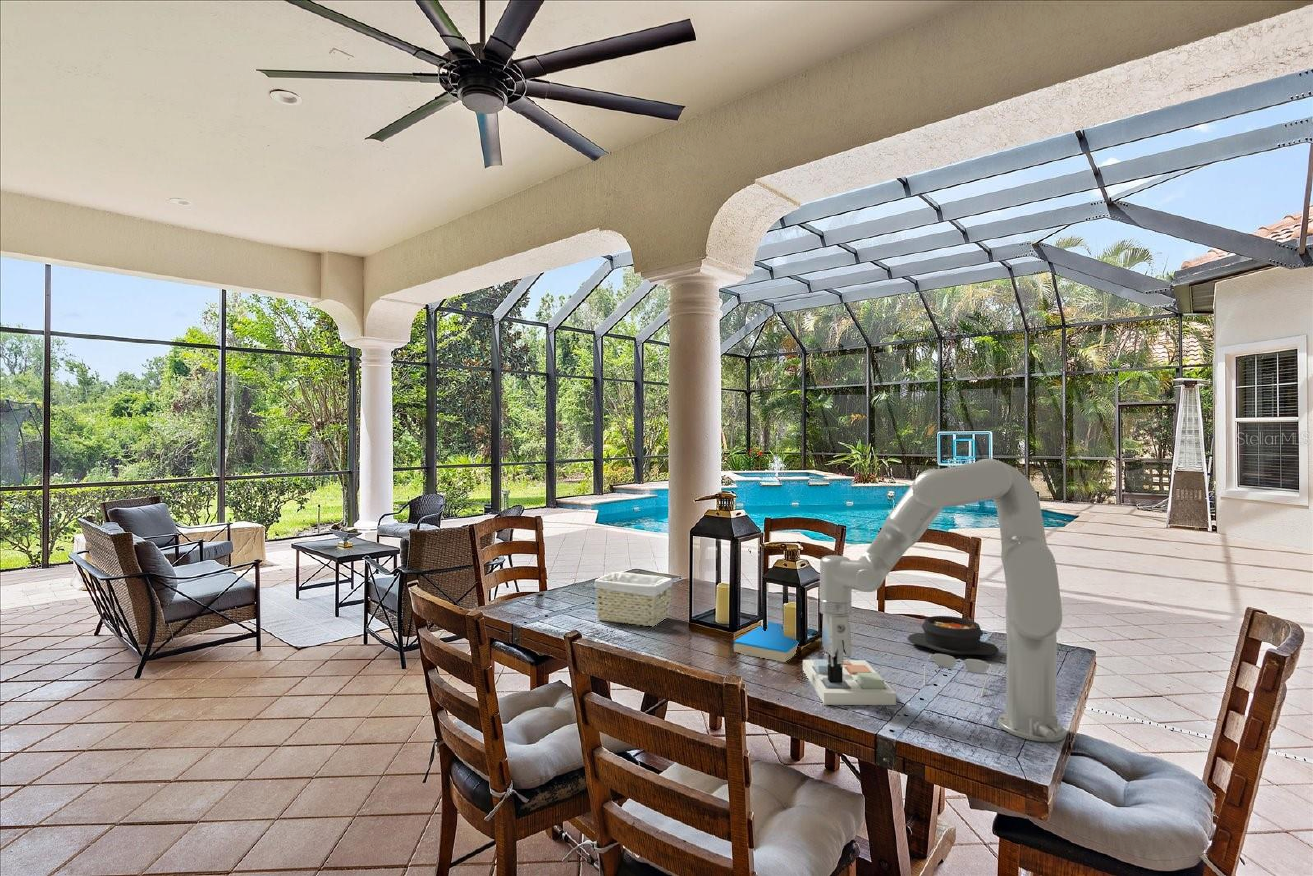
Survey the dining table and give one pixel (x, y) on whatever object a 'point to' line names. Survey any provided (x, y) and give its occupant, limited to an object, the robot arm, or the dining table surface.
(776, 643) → the book
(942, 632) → the casserole
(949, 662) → the eyeglasses
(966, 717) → the dining table surface
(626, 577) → the storage basket
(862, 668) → the key terracotta
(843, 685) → the key slate
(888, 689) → the keypad
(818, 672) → the key blue
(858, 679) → the key sage
